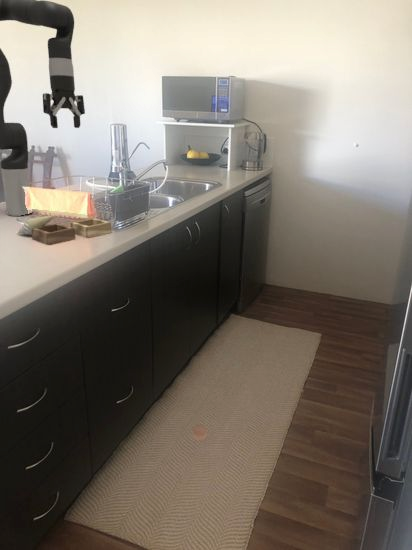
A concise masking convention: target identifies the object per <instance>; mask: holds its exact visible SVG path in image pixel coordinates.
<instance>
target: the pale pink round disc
mask: <svg viewBox="0 0 412 550" xmlns="http://www.w3.org/2000/svg"><path fill="white" fill-rule="evenodd" d="M191 430H192V431H191V432H192V438H193V439H194V440H195V441H198V442H201V441H204V440H205V439H207V437H208V428H207V426H206V425H205V424H204V425H203V424H196V425H194V426H193V428H192V429H191Z"/></svg>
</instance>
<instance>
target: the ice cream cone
mask: <svg viewBox="0 0 412 550" xmlns="http://www.w3.org/2000/svg"><path fill="white" fill-rule="evenodd" d="M54 218H55V215H45V216H39V217H30V218H28V220H26V222H23V225H22V226H21V227H20V228H19V230H18V232H17V233H16V235H31V236H32V231H31V228H36V227H41V226H46V225H48V223H49V222H50V221H52V220H53V219H54Z"/></svg>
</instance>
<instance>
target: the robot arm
mask: <svg viewBox="0 0 412 550" xmlns="http://www.w3.org/2000/svg"><path fill="white" fill-rule="evenodd" d="M3 21H4V22H5V21H16V22H18V23H21V24H25V25H26V24H27V25H31V26H35V27H36V26H37V27H39V26H41V27H42V26H43V27H45V28H49V29H54V30H56V33H55V37H50V38H49V39H48V40H47V52H48V53H47V54H48V71H49V73H48V74H49V83H50V91H51V94H50V93H48V92H46V93H43V94H42V111H43V113H44V114H46V115H48V116H49V120H50V126H51V127H52V128H53V129H58V126H59V125H58V117H57V113H58V112H59V111H60V110H61V109H68V110H69V111H70V112H71V113H72V115H73V127H74V128H76V129H80V127H81V116H82V115H84V114H86V110H85V109H86V108H85V101H84V95H78V94H77V95H76V94H75V90H76V88H75V84H76V83H75V75H74V74H75V73H74V65H73V58H72V42H73V36H74V29H75V18H74V14H73V12H72V10H71V9H70V8H69V7H68V6H67V5H63V4H61V3H58V2H53V1H49V0H0V22H3ZM11 73H12V72H11V68H10V63H9V61H8V59H7V57H6V55H5V52H3V50H2V48H1V47H0V150H5V151H6V150H11V153H10V154H9V155H8V156H6V157H5V158H3V159H2V160H1V161H0V169H1V170H0V171H1V177H2V182H3V194H4V201H5V207H6V208H5V210H6V213H7V215H8V216H10V217H11V216H14V217H22V216H21V215H24V216H26V215H25V214H28V210H27V208H26V205H25V192H24V190H23V188H22V186H30V187H31V181H30V174H29V165H28V164H29V147H28V135H27V130H26V129H25V127H24V125H22V124H21V123H20V122H6V121H5V104H6V101H7V99H8V96H9V95H10V93H11V89H12V84H13V79H12V75H11ZM51 101H53V102H52V104H51ZM75 102H76V103H75Z"/></svg>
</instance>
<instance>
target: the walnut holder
mask: <svg viewBox="0 0 412 550" xmlns="http://www.w3.org/2000/svg"><path fill="white" fill-rule="evenodd" d="M31 231H32V235H31V239H32V240H34V241H37V242H38V243H39V242H40V243H41V244H42V243H43V244H46V245H48V246H50V245H55V244H59V243H64V242H68V241H72V240H76V234H75V228H72V227H71V226H68V225H65V224H62V223H52V224H46V225H45V226H41V227H36V228H31Z"/></svg>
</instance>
